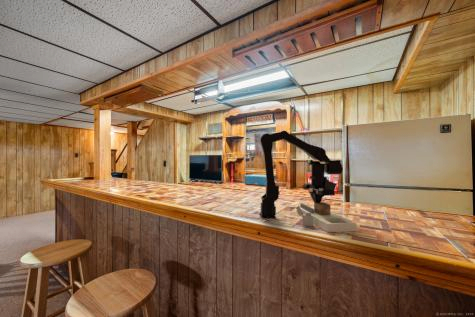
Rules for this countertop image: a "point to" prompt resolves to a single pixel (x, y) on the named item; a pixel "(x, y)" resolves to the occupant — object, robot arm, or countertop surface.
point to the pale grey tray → (329, 220)
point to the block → (322, 208)
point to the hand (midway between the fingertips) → (317, 207)
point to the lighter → (305, 217)
